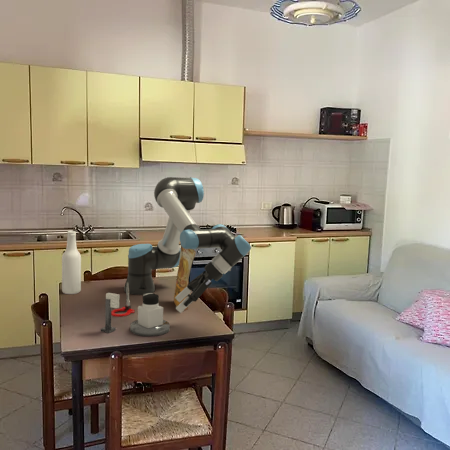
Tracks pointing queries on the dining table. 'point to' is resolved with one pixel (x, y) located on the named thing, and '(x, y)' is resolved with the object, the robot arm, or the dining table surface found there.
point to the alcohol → (71, 266)
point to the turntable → (153, 331)
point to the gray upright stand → (110, 302)
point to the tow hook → (126, 308)
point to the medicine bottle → (150, 311)
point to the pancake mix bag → (183, 271)
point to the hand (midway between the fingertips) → (177, 305)
